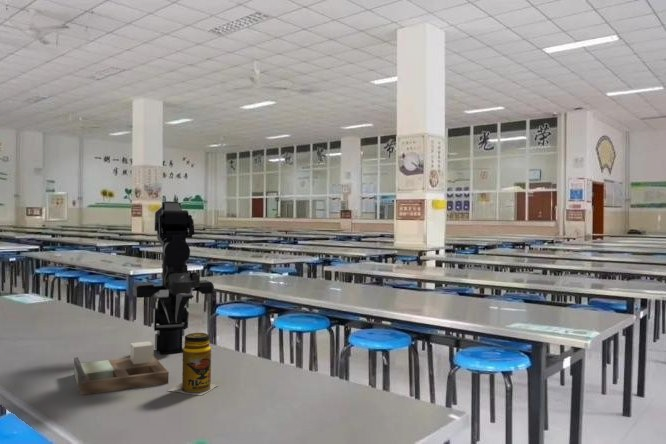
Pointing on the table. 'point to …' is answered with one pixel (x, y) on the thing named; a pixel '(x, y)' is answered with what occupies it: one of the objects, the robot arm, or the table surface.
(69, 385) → the table surface
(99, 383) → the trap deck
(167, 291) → the robot arm
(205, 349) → the condiment
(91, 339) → the table surface
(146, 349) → the block
